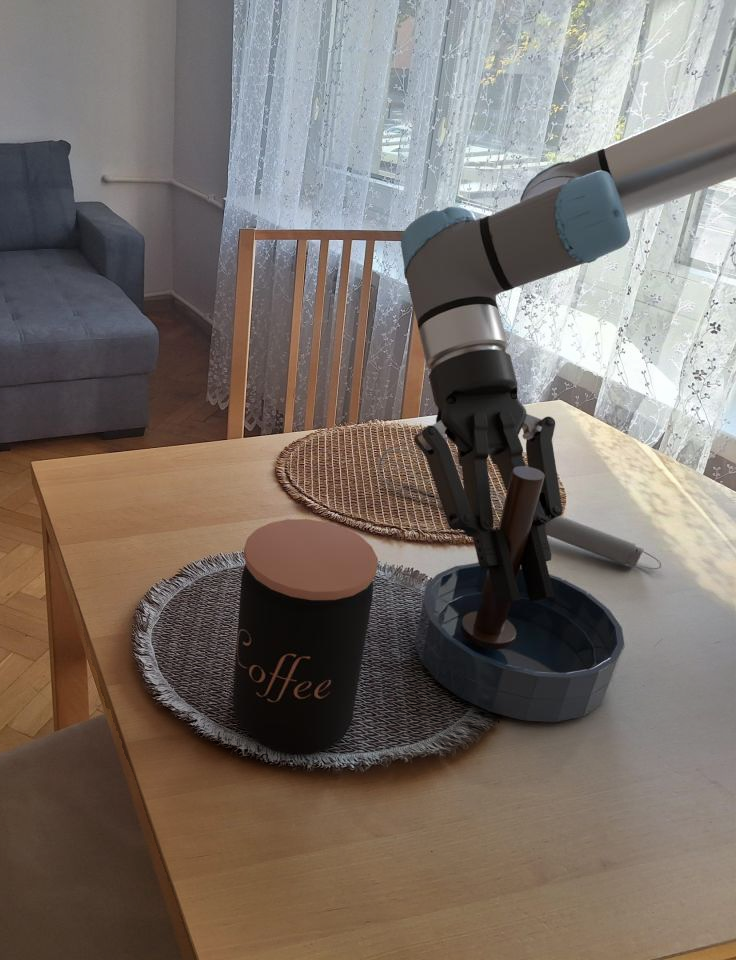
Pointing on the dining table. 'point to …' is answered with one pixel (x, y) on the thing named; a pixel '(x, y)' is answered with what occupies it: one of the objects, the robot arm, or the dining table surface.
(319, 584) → the coffee jar
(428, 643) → the bowl
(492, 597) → the stirring stick
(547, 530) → the kitchen whisk
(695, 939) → the dining table surface
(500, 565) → the robot arm
